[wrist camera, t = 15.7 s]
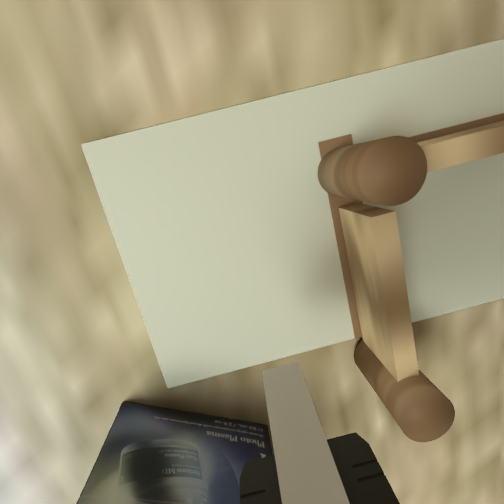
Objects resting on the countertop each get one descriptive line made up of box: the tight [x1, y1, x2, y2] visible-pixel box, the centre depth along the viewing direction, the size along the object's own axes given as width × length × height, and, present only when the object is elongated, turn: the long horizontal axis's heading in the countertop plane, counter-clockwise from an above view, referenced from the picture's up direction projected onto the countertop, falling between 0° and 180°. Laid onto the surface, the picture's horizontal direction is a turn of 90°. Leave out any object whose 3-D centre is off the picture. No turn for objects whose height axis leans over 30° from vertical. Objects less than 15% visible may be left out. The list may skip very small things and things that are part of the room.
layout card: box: [81, 39, 504, 388], centre depth 21 cm, size 28×16×1 cm, turn 104°
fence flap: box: [339, 203, 455, 442], centre depth 19 cm, size 12×3×6 cm, turn 14°
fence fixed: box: [318, 120, 504, 206], centre depth 17 cm, size 15×3×7 cm, turn 104°
